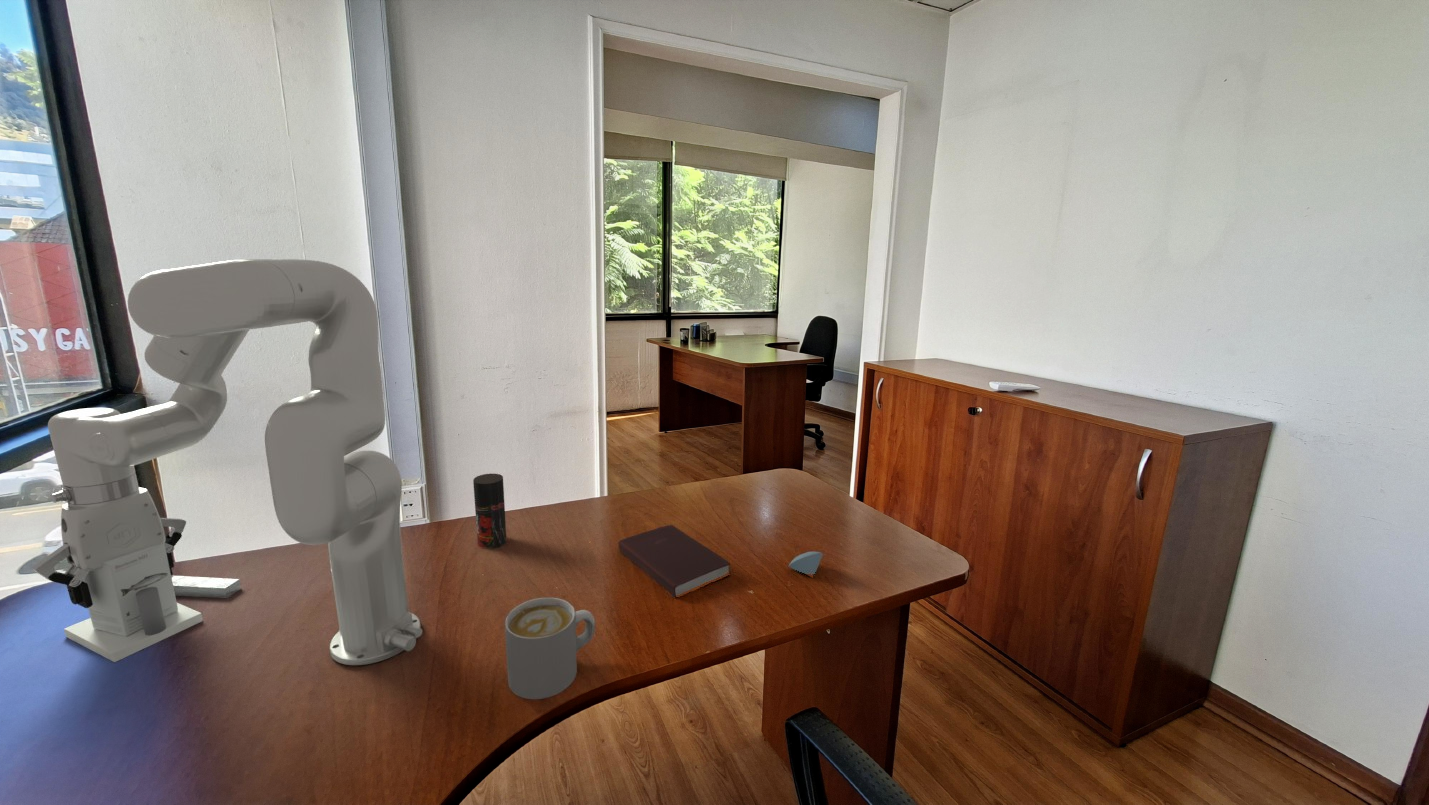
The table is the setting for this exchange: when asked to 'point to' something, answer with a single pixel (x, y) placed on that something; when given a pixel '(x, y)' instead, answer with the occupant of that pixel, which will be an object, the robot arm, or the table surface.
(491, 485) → the deodorant
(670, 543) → the book
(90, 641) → the cradle
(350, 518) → the robot arm
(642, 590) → the table surface
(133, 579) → the supplement box
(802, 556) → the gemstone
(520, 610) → the coffee mug
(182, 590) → the bar
